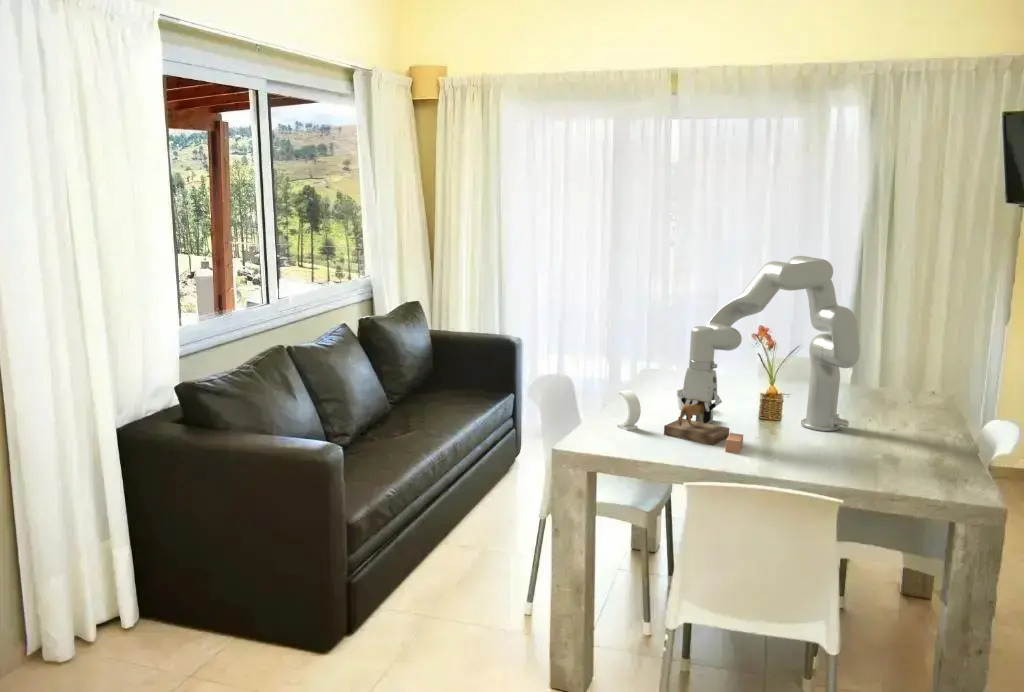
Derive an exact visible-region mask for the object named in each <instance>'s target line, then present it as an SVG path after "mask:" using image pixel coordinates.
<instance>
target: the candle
mask: <svg viewBox="0 0 1024 692" xmlns="http://www.w3.org/2000/svg"><path fill="white" fill-rule="evenodd" d="M682 389H683V388H682ZM682 389H677V390H676V397H677V406H678V409H679V410H680V411H681V410H682V407H683V406H684V403H683V402H682V401H681V399H680V398H679V397H678V396H677V394H678V393H679V392H680V391H681V390H682ZM697 403H698V401H696V400H693V402H692V405H694V404H697Z"/></svg>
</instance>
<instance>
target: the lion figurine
mask: <svg viewBox="0 0 1024 692" xmlns="http://www.w3.org/2000/svg"><path fill="white" fill-rule="evenodd" d="M704 411H706V408H705V404H704V402H702V401H698V403H697V404H694V405H691V404H686V405H684V406H683V407H682V410H680V414H679V415H680V416H678V418H677V420H678V425H679V426H681V424H682V423H681V421H682V418H683V419H684V417H685V416H686V415H687V417H688V421H687V422H688V423H689V425H690V426H694V424H692V423H691V420H692V419H693V417H692V415H693V416H695V421H696V422H699V415H700V414H702V415H703V419H702V421H704ZM703 423H704V422H703Z"/></svg>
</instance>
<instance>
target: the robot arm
mask: <svg viewBox="0 0 1024 692" xmlns="http://www.w3.org/2000/svg"><path fill="white" fill-rule="evenodd" d="M833 275H834V267H833V265H832V263H831V262H830V261H828V260H826V259H825V258H818V257H812V256H806V255H795V256H793V257H791V258H790V259H788V262H782V261H776V260H773V261H769V262H767V263H765V264H764V265H763V266H762V267H761V268H760V270H759V271H758V272H757V274H756V275H755V276H754V277H753V279H752V280H751V281H750V282H749V284H748V285H747V286H746V287H745V289H744V290H743V291H742V292H741V293H740V294H739V295H738V296H736V297H735V298H733V299H731V301H728V302H727V303H726V304H724V305H723V306H721V307H720V308H719V309H718V310H717V311H716V312H715V313H714V314H713V315H712V317H711V318H710V319H709V320H708V322H707V323H706V325H705V326H704V325H703V326H702V325H701V326H700V325H699V326H694V327H692V329H691V330H690V343H689V344H690V347H689V359H688V360H689V363H688V367H687V368H686V372H685V375H684V380H683V388H682V390H681V389H680V390H681V391H680V392H679V393H678V394H677V393H676V397H677V396H678V397H679V398H680V399H681V401H682V402H683V403H684V405H686V404H691V405H692V402H693V400H696V401H702V402H704V404H705V408H706V411H704V421H703V422H704V423H707V422H709V421H710V419H711V410H712V409H713V410H714V409H715V408H716V407H717V406H719V405H720V404H721V403H723V401H722V399H721V398H720V396H719V395H718V378H717V372H716V371H717V370H715V369H717V368H718V364H717V363H715V361H714V359H715V351H716V350H719V351H727V352H729V351H734V350H736V349H738V348H739V347H740V345H741V344H742V340H743V338H742V334H741V332H740V331H739V330H738V329H736V328H735V327H732V326H733V325H734V324H735V323H736V322H738V321H739V320H741V319H743V318H745V317H749V316H753V315H756V314H758V313H761V312H763V311H764V310H765V308H766V307H767V306H768V305H769V303H770V302H771V300H772V299H773V298H774V297H775V295H776V294H777V293H778V292H779V291H780V290H782V291H799V290H801V291H802V290H805V291H806V294H807V299H808V308H809V317H810V323H811V326H812V327H813V329H815V330H816V331H818V332H821V333H819V334H817V335H815V336H814V337H813V338H812V339H811V340H810V341H811V342H810V344H809V348H808V349H809V359H810V360H809V361H810V369H809V372H810V374H809V382H808V384H809V385H808V392H807V393H808V395H807V405H806V406H807V407H806V415H805V416H806V417H805V418H803V419H801V421H800V425H801V426H802V427H804V428H807V429H810V430H814V431H821V432H835V431H839V430H840V429H841V426H842V427H849V424H850V421H849V420H848V419H844V418H841V417H840V414H839V413H837V412H838V405H839V404H838V402H839V395H840V394H839V392H840V383H841V370H840V368H841V369H849V368H850V369H851V368H852V367H854V366H855V365H856V364H857V363H858V360H859V359H860V355H861V354H860V352H861V346H860V336H859V335H860V334H859V326H858V320H857V317H856V315H855V313H854V312H853V310H851V309H850V308H848V307H846V306H841V305H838V301H837V297H836V292H835V291H836V290H835V286H834V282H833V280H832V278H833ZM712 401H714V402H712ZM685 416H686V417H685V419H686V420H688V417H687V415H686V414H685ZM693 416H694V415H692V418H693Z"/></svg>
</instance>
